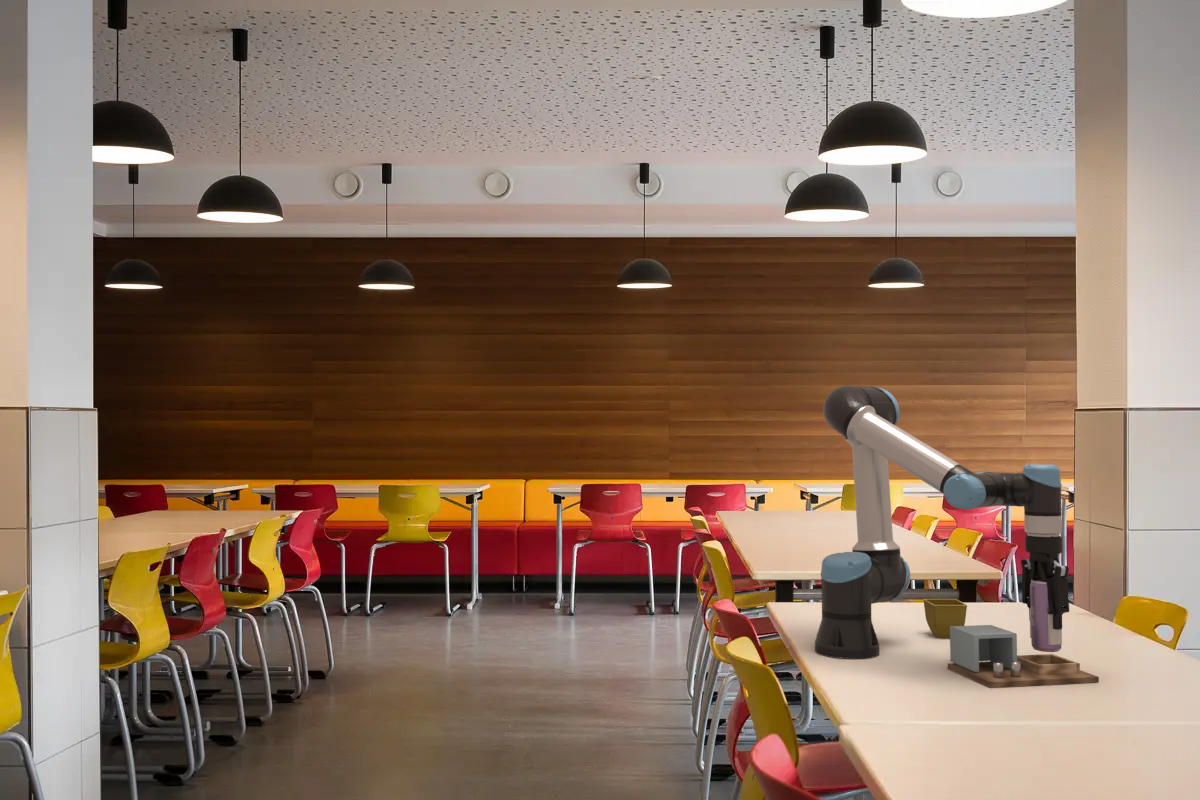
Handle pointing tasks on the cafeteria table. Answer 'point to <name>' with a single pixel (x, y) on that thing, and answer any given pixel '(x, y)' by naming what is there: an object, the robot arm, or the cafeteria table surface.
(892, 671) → the cafeteria table surface
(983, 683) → the base board
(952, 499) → the robot arm
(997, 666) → the stubs
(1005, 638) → the housing
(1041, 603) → the beverage can
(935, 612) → the flower pot
